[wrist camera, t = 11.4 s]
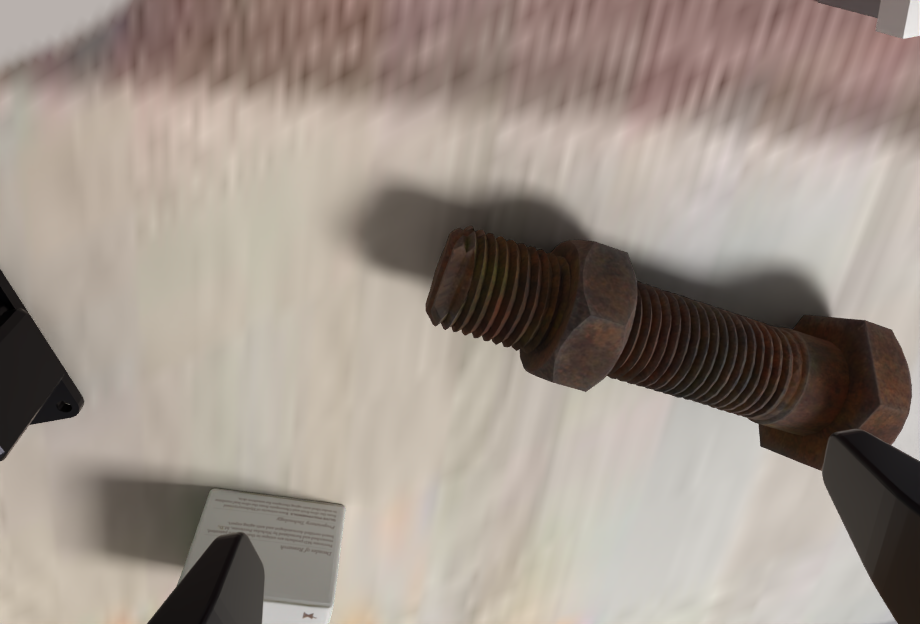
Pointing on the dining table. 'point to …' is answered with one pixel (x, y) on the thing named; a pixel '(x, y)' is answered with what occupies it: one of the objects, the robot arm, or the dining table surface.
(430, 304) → the bolt
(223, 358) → the dining table surface
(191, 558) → the small box
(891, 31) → the scale
